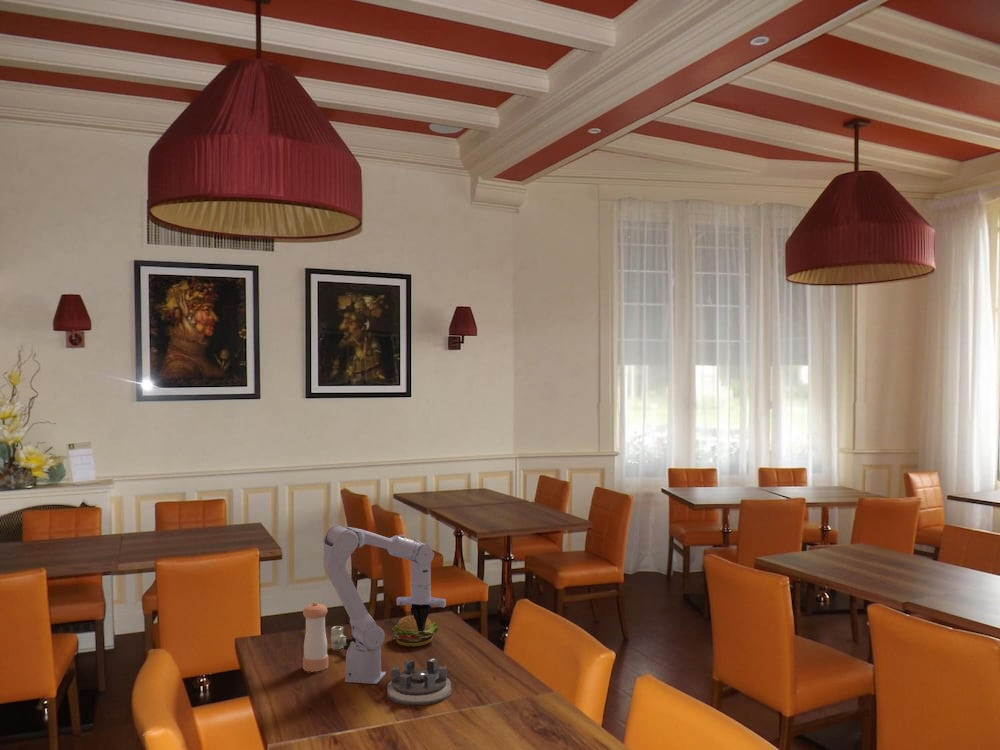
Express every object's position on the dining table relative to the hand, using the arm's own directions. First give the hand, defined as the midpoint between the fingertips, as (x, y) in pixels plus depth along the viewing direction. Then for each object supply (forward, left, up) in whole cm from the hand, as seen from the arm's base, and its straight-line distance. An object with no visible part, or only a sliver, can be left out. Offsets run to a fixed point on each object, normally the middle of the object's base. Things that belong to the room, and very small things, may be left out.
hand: (421, 630), depth 224 cm
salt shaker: (-30, -7, -11) cm, 33 cm away
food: (-8, +20, -11) cm, 25 cm away
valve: (-27, +8, -11) cm, 30 cm away
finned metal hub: (+5, -19, -8) cm, 21 cm away
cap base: (+5, -19, -10) cm, 22 cm away
